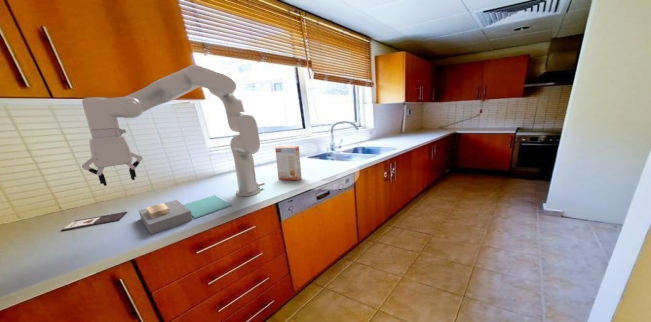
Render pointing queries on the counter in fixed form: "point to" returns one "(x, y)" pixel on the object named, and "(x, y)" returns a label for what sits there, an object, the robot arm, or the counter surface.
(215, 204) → the mat
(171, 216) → the block
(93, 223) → the chocolate bar
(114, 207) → the counter surface
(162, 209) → the tan rectangular block
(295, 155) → the cracker box
